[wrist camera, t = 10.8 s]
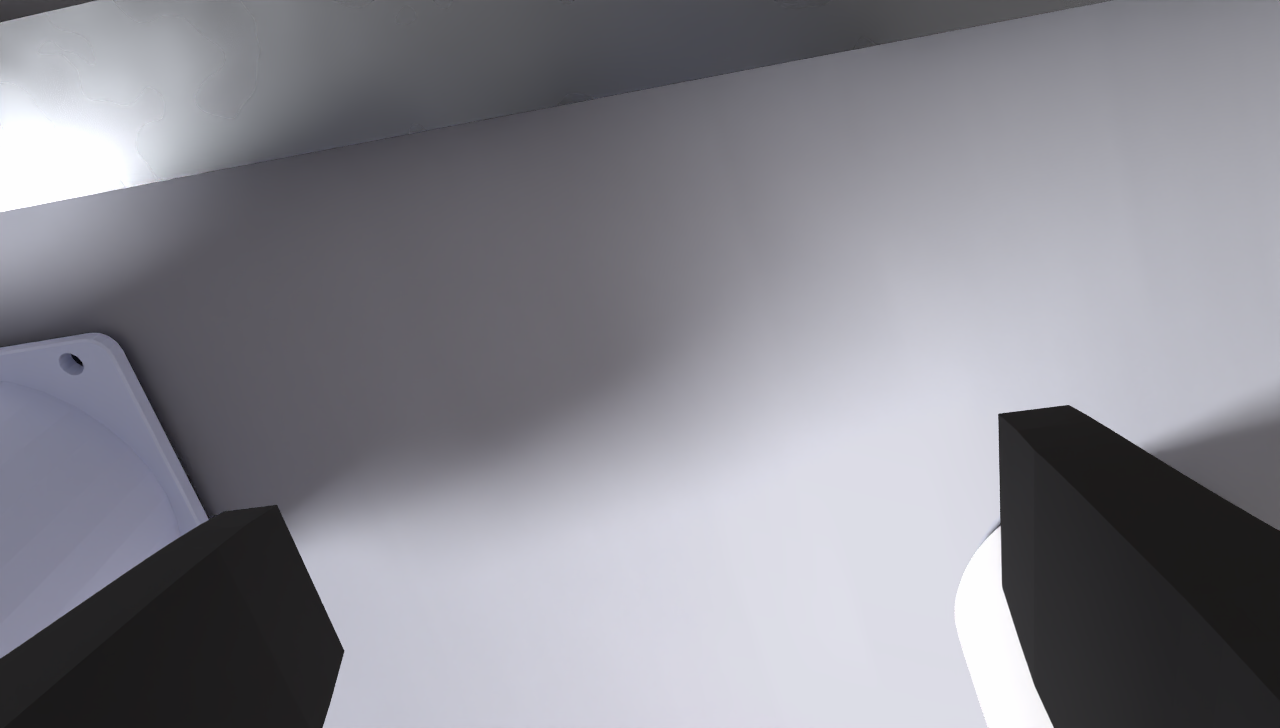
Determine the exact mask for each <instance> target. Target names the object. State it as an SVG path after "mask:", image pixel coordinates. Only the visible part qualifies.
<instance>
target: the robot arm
mask: <svg viewBox="0 0 1280 728" xmlns="http://www.w3.org/2000/svg"><path fill="white" fill-rule="evenodd" d="M71 354H73V355H75V356H77V357H78V358H79V359H80V360H81V361H82V363H83V366H81V365H79V364H78V363H76V362H75V361H74V359H73V358H72V356H71ZM998 419H999V469H1000V519H1001V568H1002V588H1003V592H1004V595H1005V598H1006V601H1007V604H1008V607H1009V610H1010V614H1011V617H1012V620H1013V623H1014V626H1015V629H1016V632H1017V636H1018V639H1019V642H1020V645H1021V648H1022V651H1023V654H1024V657H1025V660H1026V662H1027V665H1028V668H1029V671H1030V674H1031V677H1032V680H1033V683H1034V686H1035V688H1036V690H1037V692H1038V695H1039V697H1040V699H1041V701H1042V703H1043V706H1044V708H1045V710H1046V712H1047V714H1048V717H1049V719H1050V721H1051V723H1052V725H1053V727H1054V728H1280V531H1279V530H1277V529H1275V528H1273V527H1272V526H1270V525H1268V524H1266V523H1265V522H1263V521H1261V520H1259V519H1258V518H1256V517H1254V516H1252V515H1251V514H1249V513H1247V512H1246V511H1244V510H1242V509H1240V508H1239V507H1237V506H1235V505H1234V504H1232V503H1230V502H1229V501H1227V500H1225V499H1223V498H1222V497H1220V496H1218V495H1217V494H1215V493H1213V492H1212V491H1210V490H1208V489H1207V488H1205V487H1203V486H1202V485H1200V484H1198V483H1197V482H1195V481H1193V480H1192V479H1190V478H1188V477H1187V476H1185V475H1183V474H1182V473H1180V472H1179V471H1177V470H1175V469H1174V468H1172V467H1170V466H1169V465H1167V464H1166V463H1164V462H1162V461H1161V460H1159V459H1157V458H1156V457H1154V456H1153V455H1151V454H1149V453H1148V452H1146V451H1144V450H1143V449H1141V448H1140V447H1138V446H1136V445H1135V444H1133V443H1132V442H1130V441H1128V440H1127V439H1125V438H1123V437H1122V436H1120V435H1119V434H1117V433H1115V432H1114V431H1112V430H1111V429H1109V428H1107V427H1106V426H1104V425H1102V424H1101V423H1099V422H1097V421H1096V420H1094V419H1092V418H1091V417H1089V416H1087V415H1086V414H1084V413H1082V412H1080V411H1079V410H1077V409H1075V408H1073V407H1071V406H1069V405H1065V406H1057V407H1049V408H1041V409H1033V410H1025V411H1017V412H1009V413H1002V414H998ZM343 654H344V649H343V647H342V645H341V643H340V641H339V638H338V636H337V634H336V632H335V630H334V628H333V625H332V623H331V621H330V619H329V617H328V615H327V612H326V610H325V608H324V606H323V604H322V602H321V599H320V597H319V595H318V593H317V591H316V589H315V586H314V584H313V582H312V580H311V578H310V576H309V573H308V571H307V569H306V567H305V565H304V562H303V560H302V558H301V556H300V554H299V552H298V549H297V547H296V545H295V543H294V541H293V539H292V536H291V534H290V532H289V530H288V528H287V526H286V523H285V521H284V519H283V517H282V515H281V513H280V510H279V508H278V506H277V505H273V506H265V507H257V508H249V509H241V510H233V511H225V512H223V513H221V514H219V515H217V516H215V517H213V518H211V519H210V520H209V519H208V517H207V515H206V513H205V511H204V509H203V507H202V505H201V503H200V501H199V499H198V497H197V495H196V493H195V491H194V489H193V487H192V486H191V484H190V482H189V480H188V478H187V476H186V474H185V472H184V470H183V468H182V466H181V464H180V462H179V460H178V458H177V456H176V454H175V452H174V450H173V448H172V446H171V444H170V442H169V440H168V438H167V436H166V434H165V432H164V430H163V428H162V426H161V424H160V422H159V420H158V418H157V416H156V414H155V412H154V411H153V409H152V407H151V405H150V403H149V401H148V399H147V397H146V395H145V393H144V391H143V389H142V387H141V385H140V383H139V381H138V379H137V377H136V375H135V373H134V371H133V369H132V367H131V365H130V363H129V361H128V359H127V357H126V355H125V353H124V351H123V350H122V348H121V347H120V346H119V344H118V343H117V342H116V341H115V340H113V339H112V338H111V337H109V336H107V335H104V334H101V333H86V334H80V335H74V336H68V337H62V338H56V339H50V340H44V341H38V342H32V343H25V344H19V345H13V346H7V347H1V348H0V728H322V727H323V724H324V721H325V718H326V715H327V711H328V708H329V705H330V702H331V698H332V695H333V691H334V687H335V683H336V680H337V676H338V672H339V669H340V665H341V661H342V657H343Z"/></svg>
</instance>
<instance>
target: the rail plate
mask: <svg viewBox="0 0 1280 728" xmlns="http://www.w3.org/2000/svg"><path fill="white" fill-rule="evenodd" d="M1106 1H1111V0H96V1H92V2H88V3H83V4H79V5H74V6H70V7H66V8H61V9H57V10H52V11H48V12H44V13H39V14H35V15H30V16H26V17H22V18H17V19H13V20H8V21H4V22H0V212H2V211H7V210H13V209H18V208H23V207H28V206H34V205H39V204H44V203H49V202H55V201H60V200H65V199H70V198H76V197H81V196H86V195H92V194H97V193H102V192H107V191H113V190H118V189H123V188H128V187H134V186H139V185H144V184H149V183H155V182H160V181H165V180H170V179H176V178H181V177H186V176H191V175H197V174H202V173H207V172H212V171H218V170H223V169H228V168H233V167H239V166H244V165H249V164H254V163H260V162H265V161H270V160H276V159H281V158H286V157H291V156H297V155H302V154H307V153H312V152H318V151H323V150H328V149H333V148H339V147H344V146H349V145H354V144H360V143H365V142H370V141H375V140H381V139H386V138H391V137H396V136H402V135H407V134H412V133H417V132H423V131H428V130H433V129H438V128H444V127H449V126H454V125H460V124H465V123H470V122H475V121H481V120H486V119H491V118H496V117H502V116H507V115H512V114H517V113H523V112H528V111H533V110H538V109H544V108H549V107H554V106H559V105H565V104H570V103H575V102H580V101H586V100H591V99H596V98H601V97H607V96H612V95H617V94H622V93H628V92H633V91H638V90H644V89H649V88H654V87H659V86H665V85H670V84H675V83H680V82H686V81H691V80H696V79H701V78H707V77H712V76H717V75H722V74H728V73H733V72H738V71H743V70H749V69H754V68H759V67H764V66H770V65H775V64H780V63H785V62H791V61H796V60H801V59H807V58H812V57H817V56H822V55H828V54H833V53H838V52H843V51H849V50H854V49H859V48H864V47H870V46H875V45H880V44H885V43H891V42H896V41H901V40H906V39H912V38H917V37H922V36H927V35H933V34H938V33H943V32H948V31H954V30H959V29H964V28H969V27H975V26H980V25H985V24H991V23H996V22H1001V21H1006V20H1012V19H1017V18H1022V17H1027V16H1033V15H1038V14H1043V13H1048V12H1054V11H1059V10H1064V9H1069V8H1075V7H1080V6H1085V5H1090V4H1096V3H1101V2H1106Z"/></svg>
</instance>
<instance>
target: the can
mask: <svg viewBox="0 0 1280 728" xmlns="http://www.w3.org/2000/svg"><path fill="white" fill-rule="evenodd" d="M955 622H956V627H957V632H958V636H959V639H960V643H961V646H962V649H963V653H964V656H965V659H966V662H967V665H968V668H969V671H970V675H971V678H972V681H973V684H974V687H975V690H976V693H977V696H978V699H979V702H980V705H981V708H982V711H983V715H984V718H985V721H986V724H987V727H988V728H1054V727H1053V725H1052V723H1051V721H1050V719H1049V717H1048V714H1047V712H1046V710H1045V708H1044V706H1043V703H1042V701H1041V699H1040V697H1039V695H1038V692H1037V690H1036V688H1035V686H1034V683H1033V680H1032V677H1031V674H1030V671H1029V668H1028V665H1027V662H1026V660H1025V657H1024V654H1023V651H1022V648H1021V645H1020V642H1019V639H1018V636H1017V632H1016V629H1015V626H1014V623H1013V620H1012V617H1011V614H1010V610H1009V607H1008V604H1007V601H1006V598H1005V595H1004V592H1003V588H1002V568H1001V525H1000V526H999V527H998V528H997V529H996V530H995V531H994V532H993V533H992V534H991V535H990V536H989V537H988V538H987V539H986V540H985V541H984V542H983V543H982V545H981V546H980V547H979V548H978V550H977V551H976V553H975V554H974V556H973V557H972V559H971V560H970V562H969V564H968V566H967V568H966V570H965V572H964V574H963V577H962V579H961V582H960V585H959V588H958V591H957V595H956V600H955Z"/></svg>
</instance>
